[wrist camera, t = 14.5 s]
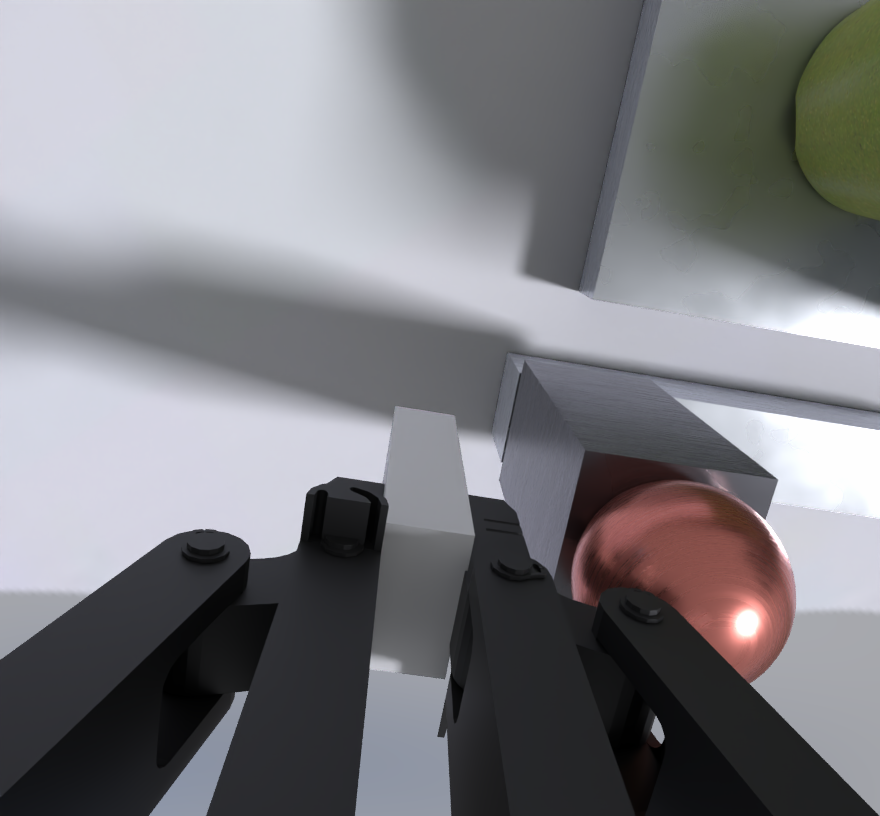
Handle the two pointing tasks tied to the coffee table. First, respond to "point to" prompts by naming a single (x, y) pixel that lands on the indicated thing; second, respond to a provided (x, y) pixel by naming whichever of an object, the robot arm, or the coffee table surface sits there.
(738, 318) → the frame
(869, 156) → the plant pot
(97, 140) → the coffee table surface
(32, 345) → the coffee table surface
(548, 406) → the lever
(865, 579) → the coffee table surface
